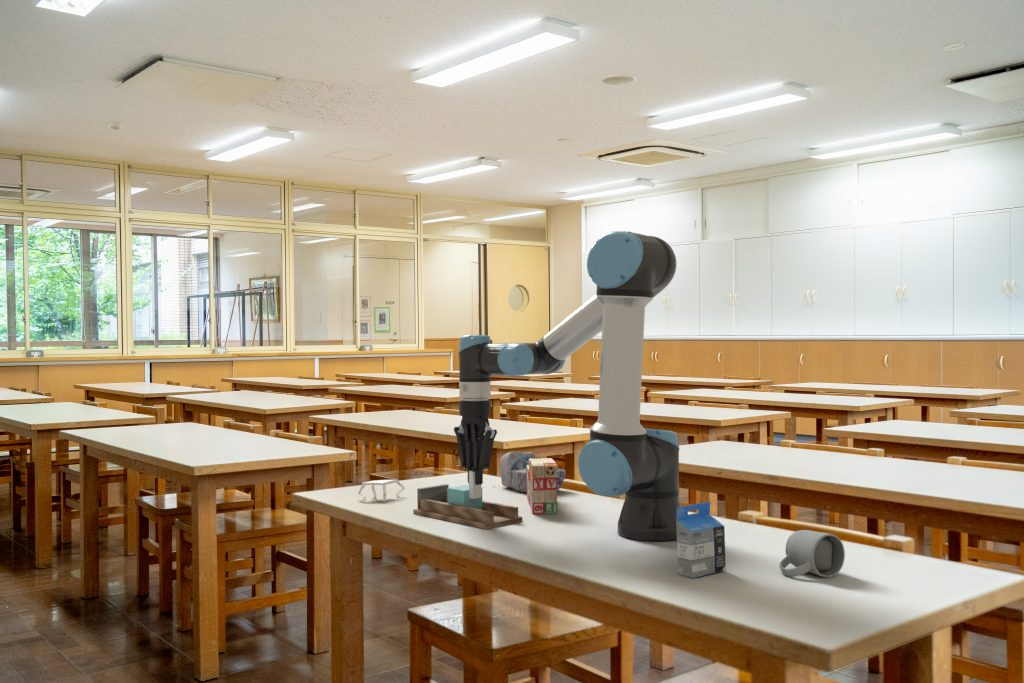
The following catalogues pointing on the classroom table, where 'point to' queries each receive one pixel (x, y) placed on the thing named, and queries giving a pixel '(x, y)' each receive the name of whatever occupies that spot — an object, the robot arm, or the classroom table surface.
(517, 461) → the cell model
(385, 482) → the white bent leg stand
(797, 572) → the ceramic mug
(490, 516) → the chute
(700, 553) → the label tape box
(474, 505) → the block
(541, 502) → the stack of blocks
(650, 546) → the classroom table surface
